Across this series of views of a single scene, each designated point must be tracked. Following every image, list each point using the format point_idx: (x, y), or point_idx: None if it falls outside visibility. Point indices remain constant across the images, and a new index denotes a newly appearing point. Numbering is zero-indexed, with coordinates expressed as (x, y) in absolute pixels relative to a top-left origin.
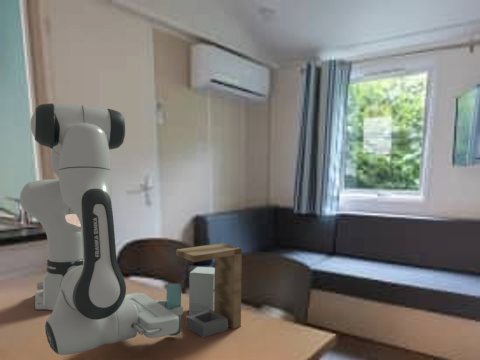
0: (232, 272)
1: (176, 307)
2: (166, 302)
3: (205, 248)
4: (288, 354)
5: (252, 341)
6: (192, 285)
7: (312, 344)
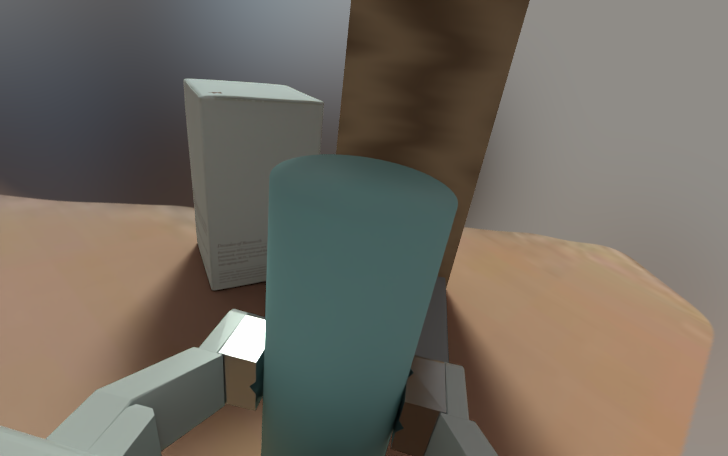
0: (493, 79)
1: (443, 404)
2: (241, 364)
3: None
4: (701, 345)
5: (567, 336)
6: (222, 164)
7: (644, 281)
